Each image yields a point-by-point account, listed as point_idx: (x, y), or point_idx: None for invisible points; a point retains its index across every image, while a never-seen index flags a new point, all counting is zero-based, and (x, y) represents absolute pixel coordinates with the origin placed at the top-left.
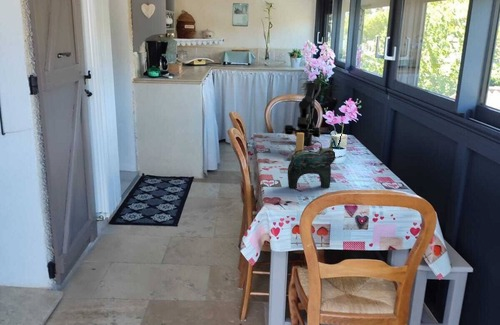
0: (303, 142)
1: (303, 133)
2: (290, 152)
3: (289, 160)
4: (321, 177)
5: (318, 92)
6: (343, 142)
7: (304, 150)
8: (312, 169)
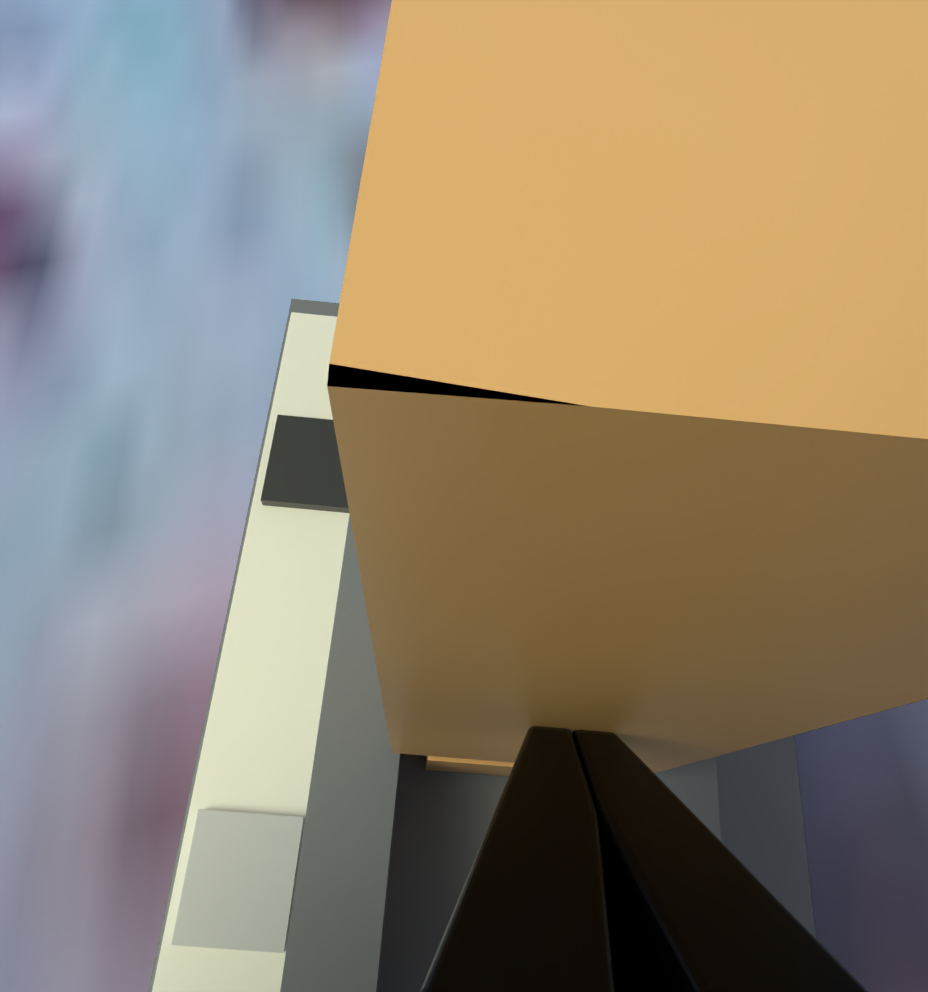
0: (384, 689)
1: (435, 92)
2: (811, 903)
3: None
4: None
5: None
6: None
7: (334, 883)
8: None
